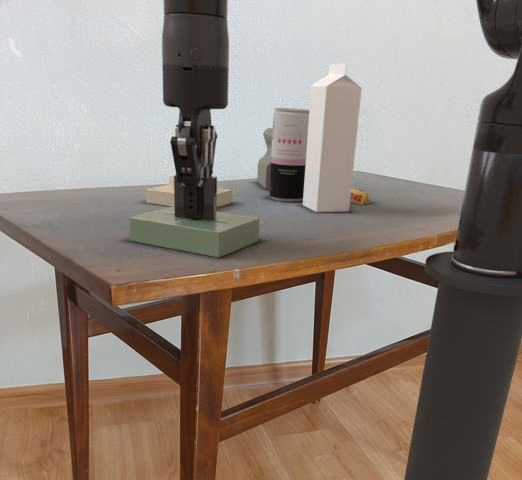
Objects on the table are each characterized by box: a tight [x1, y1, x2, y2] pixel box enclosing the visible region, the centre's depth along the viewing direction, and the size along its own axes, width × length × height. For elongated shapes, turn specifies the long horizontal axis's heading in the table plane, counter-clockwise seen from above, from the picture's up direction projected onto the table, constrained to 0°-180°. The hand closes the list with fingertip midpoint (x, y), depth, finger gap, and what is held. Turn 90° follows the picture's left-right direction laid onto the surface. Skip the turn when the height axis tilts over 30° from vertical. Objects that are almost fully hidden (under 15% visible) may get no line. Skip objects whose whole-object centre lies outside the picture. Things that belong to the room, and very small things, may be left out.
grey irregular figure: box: [256, 127, 273, 191], centre depth 117 cm, size 16×9×11 cm, turn 179°
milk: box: [302, 63, 363, 213], centre depth 95 cm, size 6×6×22 cm
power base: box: [145, 175, 233, 208], centre depth 98 cm, size 11×9×4 cm
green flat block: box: [128, 206, 260, 258], centre depth 75 cm, size 13×10×3 cm
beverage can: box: [268, 107, 310, 203], centre depth 103 cm, size 7×6×15 cm
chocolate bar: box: [350, 188, 371, 206], centre depth 110 cm, size 3×12×2 cm, turn 35°
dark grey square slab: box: [173, 174, 218, 220], centre depth 73 cm, size 5×2×5 cm, turn 82°
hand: (195, 215), depth 74 cm, fingers closed on dark grey square slab, 2 cm apart
